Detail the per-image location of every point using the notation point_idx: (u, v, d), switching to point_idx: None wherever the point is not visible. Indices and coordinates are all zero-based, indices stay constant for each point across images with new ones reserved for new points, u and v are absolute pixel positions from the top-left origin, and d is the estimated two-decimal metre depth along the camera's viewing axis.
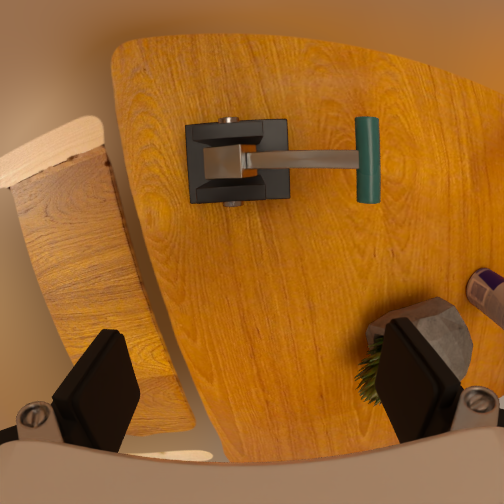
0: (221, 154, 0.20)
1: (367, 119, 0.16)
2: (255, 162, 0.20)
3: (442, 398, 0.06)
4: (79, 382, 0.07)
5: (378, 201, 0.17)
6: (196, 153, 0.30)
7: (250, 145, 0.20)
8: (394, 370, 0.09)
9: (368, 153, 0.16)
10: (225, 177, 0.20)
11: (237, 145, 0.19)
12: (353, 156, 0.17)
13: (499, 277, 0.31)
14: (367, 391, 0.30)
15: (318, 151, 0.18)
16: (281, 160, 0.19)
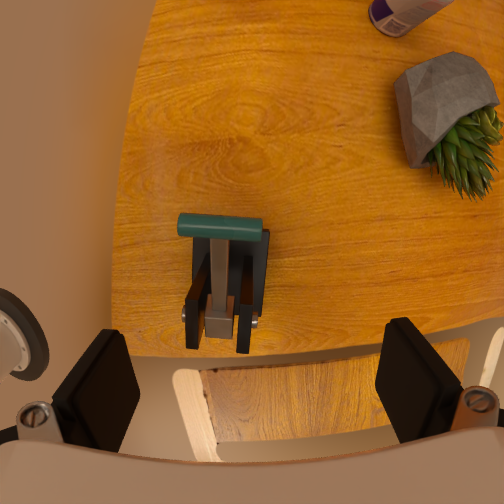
0: (211, 328, 0.24)
1: (179, 230, 0.19)
2: (220, 306, 0.23)
3: (442, 398, 0.06)
4: (79, 382, 0.07)
5: (260, 225, 0.19)
6: None
7: (207, 302, 0.24)
8: (394, 370, 0.09)
9: (212, 232, 0.19)
10: (231, 328, 0.24)
11: (204, 319, 0.24)
12: (216, 242, 0.19)
13: None
14: (475, 192, 0.25)
15: (212, 266, 0.21)
16: (219, 290, 0.22)
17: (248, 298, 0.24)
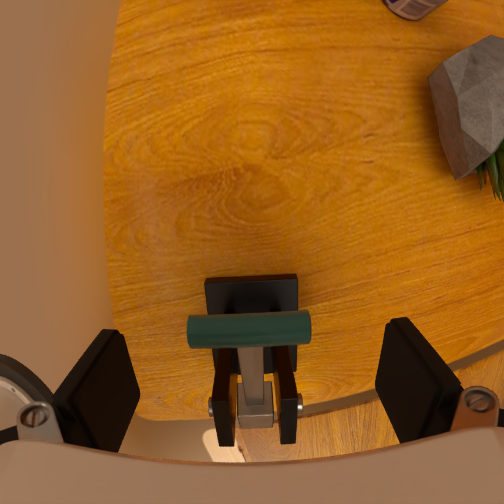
0: (247, 422, 0.18)
1: (192, 344, 0.12)
2: (256, 401, 0.17)
3: (442, 398, 0.06)
4: (79, 382, 0.07)
5: (308, 324, 0.12)
6: None
7: (238, 394, 0.18)
8: (394, 370, 0.09)
9: (240, 343, 0.12)
10: (271, 420, 0.18)
11: (238, 417, 0.17)
12: (246, 350, 0.13)
13: None
14: None
15: (242, 372, 0.15)
16: (254, 390, 0.16)
17: (290, 387, 0.18)
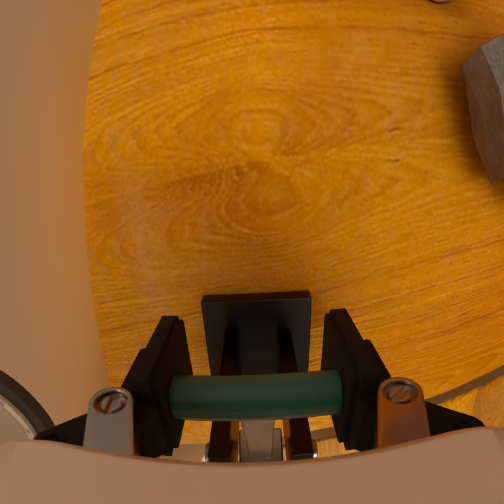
0: None
1: (177, 417, 0.08)
2: (263, 455, 0.13)
3: (362, 386, 0.07)
4: (154, 365, 0.08)
5: (340, 393, 0.08)
6: None
7: (240, 444, 0.14)
8: (330, 359, 0.10)
9: (244, 418, 0.08)
10: None
11: None
12: (251, 421, 0.09)
13: None
14: None
15: (246, 437, 0.10)
16: (261, 449, 0.12)
17: (304, 438, 0.13)
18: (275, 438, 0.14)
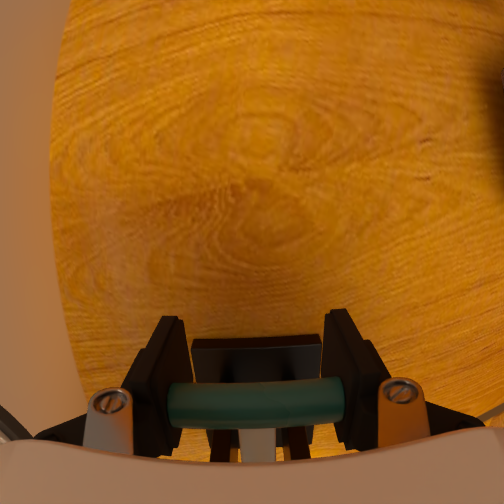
0: None
1: (173, 418, 0.08)
2: None
3: (362, 386, 0.07)
4: (154, 365, 0.08)
5: (340, 389, 0.08)
6: None
7: None
8: (330, 359, 0.10)
9: (243, 419, 0.08)
10: None
11: None
12: (251, 436, 0.08)
13: None
14: None
15: None
16: None
17: None
18: None
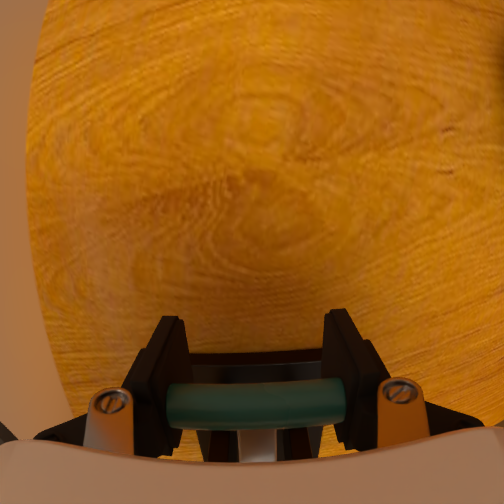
0: None
1: (171, 413, 0.08)
2: None
3: (362, 386, 0.07)
4: (154, 365, 0.08)
5: (340, 385, 0.08)
6: None
7: None
8: (330, 359, 0.10)
9: (242, 414, 0.08)
10: None
11: None
12: (250, 438, 0.08)
13: None
14: None
15: None
16: None
17: None
18: None
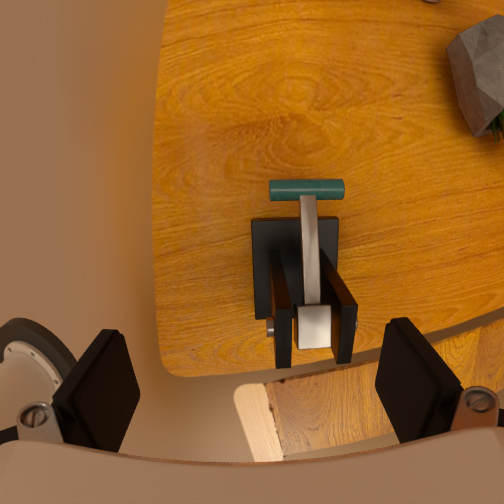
0: (306, 328, 0.19)
1: (272, 186, 0.20)
2: (314, 294, 0.20)
3: (442, 398, 0.06)
4: (79, 382, 0.07)
5: (340, 179, 0.21)
6: None
7: (295, 304, 0.21)
8: (394, 370, 0.09)
9: (302, 185, 0.20)
10: (330, 323, 0.19)
11: (298, 309, 0.19)
12: (305, 199, 0.21)
13: None
14: None
15: (303, 231, 0.20)
16: (312, 267, 0.20)
17: (348, 297, 0.19)
18: (321, 302, 0.21)
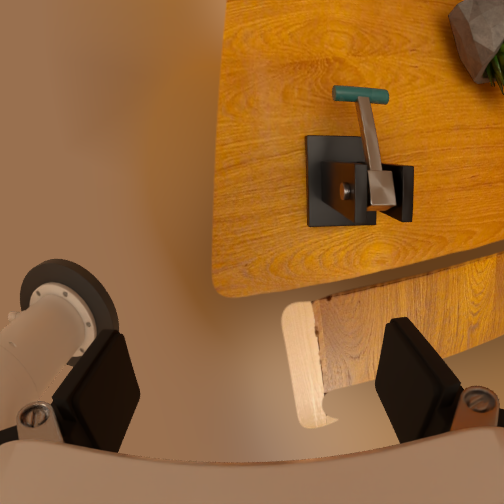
0: (376, 187, 0.23)
1: (337, 87, 0.24)
2: (377, 165, 0.23)
3: (442, 398, 0.06)
4: (79, 382, 0.07)
5: (384, 89, 0.24)
6: (335, 217, 0.34)
7: None
8: (394, 370, 0.09)
9: (359, 89, 0.24)
10: (393, 185, 0.23)
11: (368, 172, 0.23)
12: (362, 99, 0.24)
13: None
14: None
15: (363, 119, 0.24)
16: (373, 145, 0.24)
17: (404, 165, 0.22)
18: None
